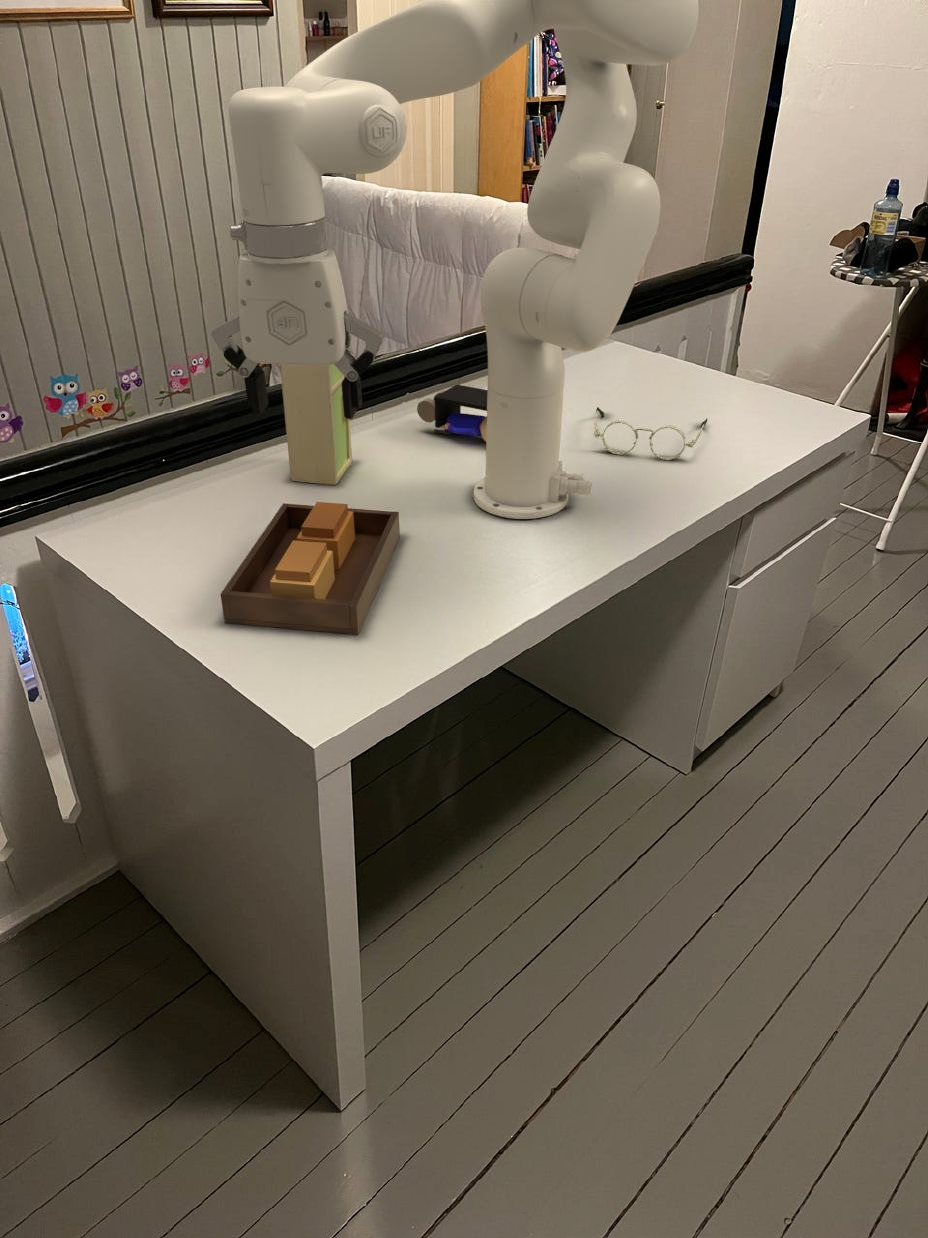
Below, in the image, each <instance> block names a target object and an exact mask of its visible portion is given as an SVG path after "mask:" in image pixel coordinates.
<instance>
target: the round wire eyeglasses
mask: <svg viewBox="0 0 928 1238" xmlns="http://www.w3.org/2000/svg"><path fill="white" fill-rule="evenodd" d="M598 413H599V415H600V416H601V417H603V418H604V417H605V412H604V411H603V410H602V409H601V408H600V407H598V406H597V407H596V411H595V420H594V428H593V429H594V431H593V434H594V438H599V437H601V438H602V439H601V440H602V443H603V446H604V450H605V451H608V452H610V453H611V454H614V455H618V456H622V455H626V454H629V453H630V452H631V451H632V450H634V448H635V446H636V444H637V441H638V439H639V433H638V431H644V432H651V434H650V436H649V437H648V440H649V446H650V451H651V452H652V453H653V455H654V456H655V457H656V458H658V459H660V460H664V461H670V460H675V459H676V458H677V459H680V458H681V455H682V454H683V452H684V451H685V448H686V447H688V448H694V446H695V445H696V443H697V441H698V440H699V438H700V436H701V433H702V431H703V429H704V427H705V426H706V424H707V422H708V418H706V419H704V421H702V422H701V423H700V429H699V431H698V433H697V435H696V436H695V437H694V438H693V439H691V441H688V442H686V441H687V440H686V439H687V438H686V435H685V433H684V431H683V430H682V429H681V428H679V427H677V426H674V425H666V426H661V427H659V428H657V429H656V430H655V431H654V430H653V429H650V428H642V427H638V428H635V427H633V425H632V424H630V423H629V422H627V421H624V420H619V419H618V420H614V421H611V422H610V423H608V424H607V425H606V427H605V428H604V430H603V433H600V432H601V431H599V429H598V428H597V426H598V425H597V424H598V423H597V421H598V420H597V419H598ZM614 424H623V425H627V426H628V427H630V428H631V429H632V432H634V435H635V441H633V443H632V444H633V445H632V447H631V448H629V450H627V451H623V452H621V451H620V452H619V451H616V450H614V449H612V448H611V447H610V446H609V445H608V443H607V441H606V439H605V432H606V430H607V429H608V428H609V427H611V426H613V425H614ZM664 429H671V430H674V431H676V432H678V434H680V435H681V437H682V440H683V448H682V449H681V450H680V452H678V453H677V454H676V455H673V456H670V457H666V456H665V457H664V456H660V455H659V454H657V452H655V451H654V449H653V446H654V444H653V443H652V439H653V436H654V435H655V434H656V433H657V432H659V431H660V430H664Z"/></svg>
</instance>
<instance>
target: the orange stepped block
mask: <svg viewBox="0 0 928 1238" xmlns="http://www.w3.org/2000/svg"><path fill="white" fill-rule="evenodd" d="M313 506H314V507H313V509H312V510H311V512H310V514H309V515H308V517H307V518H306V520H305V522H304V523H303V525H302V526H301V532H300V533H299V535H298V537H297V541H306V542H318V543H326V546H327V550H328V551H333V562H334V569H337V570H339V569H340V568H341V566H342V564H343V562H344V560H345V558H346V556H347V554H348V552H349V550H350V548H351V546H352V544H353V542H354V540H355V529H354V514H353V512H352V511H348V508H349V505H348V503H340V502H326V501H316V503H315V504H314V505H313Z"/></svg>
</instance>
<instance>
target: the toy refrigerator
mask: <svg viewBox="0 0 928 1238" xmlns="http://www.w3.org/2000/svg"><path fill="white" fill-rule="evenodd" d="M279 372H280V380H281V390H282V401H283V411H284V422H285V433H286V441H287V442H286V443H287V454H288V464H289V475H290V479H291V481H292V482H299V483H308V484H309V483H310V484H319V485H327V486H328V485H329V486H336V485H337V484H338V483H339V482H340V480H341V478H342V477H343V476H344V475H345V473H346V472H347V470H348V469H349V467H350V466H351V465H352V463H353V451H352V450H353V449H352V448H353V447H352V434H351V433H352V432H351V419H346V417H344V407H343V395H342V381H343V380H344V378H345V376H344V375H343V374H342V372H341V371H340V370H339V369H338V368H337V367H336V366H335V365H334V364H332V365H288V364H279Z"/></svg>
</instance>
